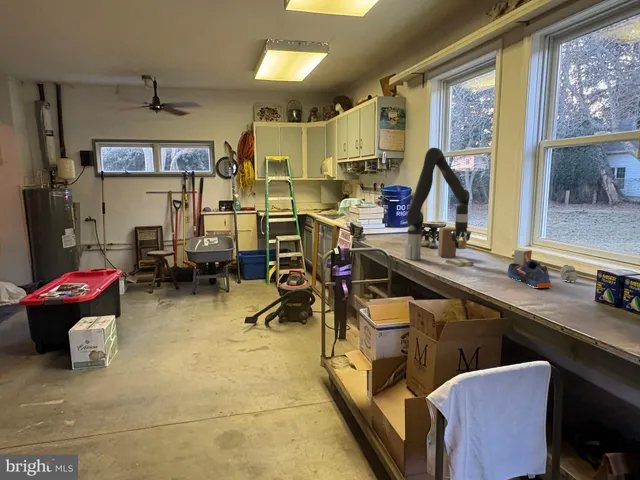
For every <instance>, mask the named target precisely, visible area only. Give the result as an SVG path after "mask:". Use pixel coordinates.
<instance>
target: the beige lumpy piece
mask: <svg viewBox="0 0 640 480" xmlns="http://www.w3.org/2000/svg"><path fill="white" fill-rule="evenodd" d="M575 270H576V268H575V267H574V265H569V264H565V265H562V267H561V268H559V275H560V277H561V281H562V280H567V281H574V282H576V281H578V273H577V272H576V271H575Z"/></svg>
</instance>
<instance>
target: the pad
mask: <svg viewBox="0 0 640 480" xmlns="http://www.w3.org/2000/svg"><path fill="white" fill-rule="evenodd" d="M445 263H446V264H449V265H452V266H456V267H466V266H474V262H473V261H471V260H467V259H464V258H452V259H451V258H450V259H446V260H445Z"/></svg>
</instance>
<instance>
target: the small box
mask: <svg viewBox="0 0 640 480" xmlns="http://www.w3.org/2000/svg"><path fill="white" fill-rule="evenodd" d="M530 260H532V249H528V248H527V249H526V248H518V249H514V251H513V263H515V264H519V265H522V264H525V262H528V261H530Z"/></svg>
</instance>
